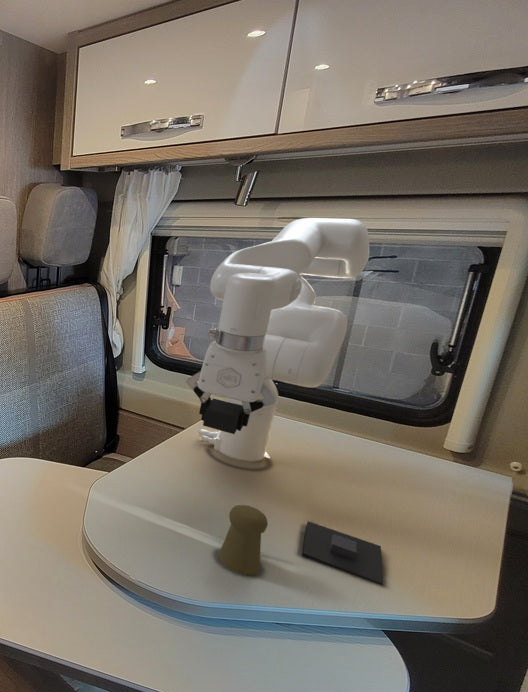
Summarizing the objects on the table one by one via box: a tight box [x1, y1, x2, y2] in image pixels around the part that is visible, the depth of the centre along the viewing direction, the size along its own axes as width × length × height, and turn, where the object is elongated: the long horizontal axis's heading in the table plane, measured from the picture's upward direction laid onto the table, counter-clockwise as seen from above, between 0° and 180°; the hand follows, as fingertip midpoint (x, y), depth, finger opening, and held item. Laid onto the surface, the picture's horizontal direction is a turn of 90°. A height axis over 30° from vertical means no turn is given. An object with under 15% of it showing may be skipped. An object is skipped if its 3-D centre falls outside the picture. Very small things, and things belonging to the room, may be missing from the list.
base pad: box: [301, 520, 383, 586], centre depth 78 cm, size 10×10×2 cm
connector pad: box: [202, 398, 243, 434], centre depth 92 cm, size 6×6×4 cm
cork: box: [217, 504, 269, 576], centre depth 76 cm, size 6×6×11 cm
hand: (222, 422), depth 92 cm, fingers closed on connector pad, 5 cm apart
